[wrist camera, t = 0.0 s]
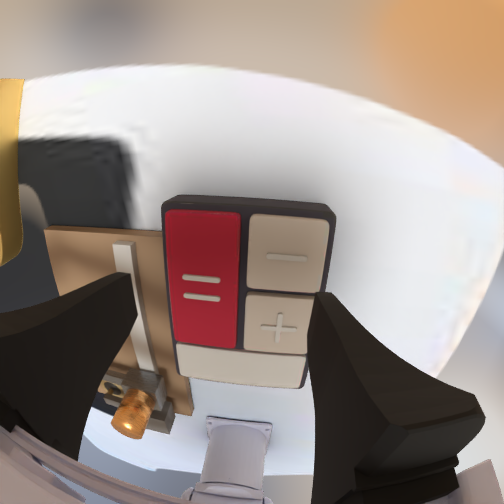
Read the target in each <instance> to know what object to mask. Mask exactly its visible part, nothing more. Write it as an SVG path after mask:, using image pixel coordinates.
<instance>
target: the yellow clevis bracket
mask: <svg viewBox="0 0 504 504" xmlns="http://www.w3.org/2000/svg"><path fill="white" fill-rule="evenodd" d="M24 81H25V79H0V267H1V266H2V265H3V264H5V263H6V262H8V261H9V260H11V259H12V258H14V257H16V256H17V255H18V254H19V252H20V250H21V248H22V242H23V227H22V219H21V209H20V199H19V185H18V130H19V116H20V106H21V98H22V91H23V84H24Z"/></svg>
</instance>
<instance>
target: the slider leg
mask: <svg viewBox="0 0 504 504" xmlns="http://www.w3.org/2000/svg"><path fill="white" fill-rule="evenodd" d="M102 380H104V381H107V382H111V383H114V384H117V385H121V387H122V389H123V392H124V394H125V395H124V397H123V399H122V401H121V403H120V405H119V407H118V409H117V411H116V413H115V415H114V417H113V419H112V421H111V425H112V426H113V427H114V428H115V429H116V430H117V431H118V432H120V433H121V434H123V435H125V436H127V437H130V438H133V439H141V438H142V436H143V434H144V431H145V429H146V426H147V424H148V421H149V419H150V416H151V414H152V411H153V409H154V410H158V411H161V410H162V407H163V404H164V402H165V399H166V397H167V394H168V393H167V389H166V386H165V382H164V378H163V375H159V374H155V373H150V372H146V371H142V370H137V369H133V368H129V370H128V372H127V374H123V373H120V372H116V371H113V370H109V369H108V370H107V372H106V374H105V375H104V377H103V379H102Z"/></svg>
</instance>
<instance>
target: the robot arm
mask: <svg viewBox="0 0 504 504" xmlns="http://www.w3.org/2000/svg"><path fill="white" fill-rule="evenodd" d="M137 317H138V312H137V307H136V301H135V296H134V290H133V285H132V278H131V273H124V272H116V273H113V274H110V275H107V276H105V277H102V278H100V279H98V280H96V281H93V282H91V283H89V284H87V285H85V286H82V287H80V288H78V289H76V290H73V291H71V292H69V293H66V294H64V295H62V296H59V297H57V298H54V299H52V300H49V301H47V302H44V303H41V304H38V305H35V306H31V307H27V308H23V309H19V310H15V311H11V312H5V313H0V504H85V503H84V502H85V500H86V499H85V497H84V496H82V495H81V494H79V493H77V492H76V491H74V490H73V489H71V488H70V487H68V486H67V485H66V484H65V483H63V482H62V481H61V480H60V479H58V478H57V477H56V476H55V475H54V474H52V473H51V472H49V471H48V470H46V469H45V468H44V467H42V464H43V465H44V466H46V467H48V468H49V469H51V470H52V471H54V472H56V473H58V474H59V475H61V476H63V477H65V478H66V479H68V480H70V481H72V482H74V483H76V484H78V485H80V486H82V487H84V488H86V489H88V490H90V491H92V492H94V493H97V494H98V495H101V496H103V497H105V498H108V499H110V500H112V501H115V502H118V503H120V504H273V502H272V501H271V500H270V499H269V498H268V497H264V498H263V492H264V491H262V484H263V473H264V461H265V455H266V452H267V448H268V443H269V439H270V434H271V430H272V425H271V424H268V423H255V422H245V421H236V420H228V419H220V418H213V417H207V418H206V424H207V430H208V437H209V443H208V448H207V452H206V456H205V461H204V465H203V470H202V474H201V479H200V483H198V482H196V485H195V488H191V487H190V488H189V489H187V490H186V491H184V492H183V494H182V496H181V498H176V497H173V496H169V495H165V494H161V493H157V492H154V491H151V490H147V489H144V488H141V487H138V486H135V485H132V484H129V483H127V482H124V481H121V480H119V479H116V478H113V477H111V476H108V475H106V474H104V473H101V472H99V471H97V470H94V469H92V468H90V467H88V466H86V465H84V464H81V463H79V462H77V461H78V455H79V450H80V445H81V440H82V435H83V432H84V428H85V425H86V421H87V418H88V414H89V412H90V409H91V406H92V403H93V400H94V398H95V395H96V393H97V391H98V388H99V386H100V383H101V381H102V379H103V377H104V375H105V374H106V372H107V370H108V369H109V367H110V365H111V364H112V362H113V360H114V359H115V357H116V356H117V354H118V352H119V351H120V349H121V348H122V346H123V344H124V343H125V341H126V340H127V338H128V336H129V335H130V332H131V330H132V328H133V326H134V324H135V321H136V319H137ZM307 358H308V365H309V372H310V379H311V385H312V392H313V399H314V408H315V461H314V477H313V488H312V498H311V504H504V501H503V498H502V494H501V490H500V487H499V483H498V480H497V477H496V474H495V471H494V468H493V465H492V462H491V460H490V459H488V460H486V461H484V462H482V463H480V464H477V465H475V466H473V467H470V468H468V469H466V470H464V471H462V472H460V473H459V474H457V475H456V473H455V469H454V467H456V466H457V465H458V464H459V460H458V457H457V454H458V453H459V452H460V451H461V450H462V449H463V448H464V447H465V446H466V445H467V444H468V443H469V442H470V441H472V440H473V438H474V437H475V436H476V435H477V434H478V433H479V432H480V430H481V429H482V427H483V425H484V423H485V418H486V417H485V415H484V413H483V411H482V409H481V407H480V405H479V403H478V401H477V399H476V397H475V395H474V394H471V393H469V392H466V391H463V390H461V389H458V388H456V387H453V386H450V385H448V384H446V383H444V382H442V381H439V380H437V379H435V378H433V377H431V376H429V375H428V374H426V373H424V372H422V371H420V370H419V369H417V368H416V367H414V366H412V365H411V364H409V363H408V362H406V361H404V360H403V359H402V358H400V357H399V356H397V355H396V354H395V353H393V352H392V351H391V350H389V349H388V348H387V347H386V346H384V345H383V344H382V343H381V342H379V341H378V340H377V339H376V338H375V337H374V336H373V335H372V334H371V333H370V332H368V331H367V330H366V329H365V328H364V327H363V326H362V325H361V324H360V323H359V322H358V321H357V320H356V319H355V318H354V316H353V315H352V314H351V313H350V312H349V311H348V310H347V309H346V308H345V307H344V306H343V304H342V303H341V302H340V301H339V300H338V299H337V298H336V297H335V296H334V295H333V294H332V293H329V292H315V297H314V302H313V307H312V312H311V317H310V322H309V327H308V332H307Z"/></svg>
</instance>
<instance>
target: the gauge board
mask: <svg viewBox="0 0 504 504" xmlns="http://www.w3.org/2000/svg"><path fill="white" fill-rule="evenodd" d="M44 232H45V237H46V243H47V248H48V252H49V256H50V261H51V265H52V269H53V273H54V277H55V281H56V284H57V288H58V291H59V294H60V296H62V295H64V294H66V293H69V292H71V291H73V290H76V289H78V288H80V287H82V286H85V285H87V284H89V283H91V282H93V281H96V280H98V279H100V278H102V277H105V276H107V275H110V274H113V273H116V272H124V273H131V278H132V285H133V290H134V296H135V301H136V307H137V312H138V317H137V319H136V321H135V324H134V326H133V328H132V330H131V332H130V335H129V336H128V338H127V340H126V341H125V343H124V344H123V346H122V348H121V349H120V351H119V352H118V354H117V356H116V357H115V359H114V360H113V362H112V364H111V365H110V367H109V370H113V371H116V372H120V373H123V374H127V372H128V370H129V368H133V369H137V370H142V371H146V372H150V373H155V374H159V375H163V378H164V382H165V386H166V389H167V393H168V394H167V397H166V399H165V402H164V404H163V407H162V410H161V411H158V410H154V409H153V411H152V414H151V416H150V419H149V421H148V424H147V426H146V429H150V430H154V431H157V432H161V433H165V434H170V431H171V428H172V425H173V422H174V419H175V413H178V414H183V415H188V416H192V413H193V410H194V407H193V402H192V396H191V390H190V385H189V379H188V377H185V376H181V375H179V374H178V373H177V370H176V364H175V358H174V351H173V344H172V337H171V329H170V321H169V312H168V303H167V293H166V282H165V270H164V256H163V239H162V231H147V230H131V229H113V228H95V227H76V226H55V225H52V226H50V227H48V228H46V229H44ZM98 392H101V393H104V394H105V396H104V400H105V402H106V403H107V404H110V405H113V406H116V407H119V405H120V403H121V401H122V399H123V397H124V395H125V394H124V392H123V389H122V387H121V385H117V384H114V383H111V382H107V381H104V380H102V381H101V383H100V386H99V388H98Z"/></svg>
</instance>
